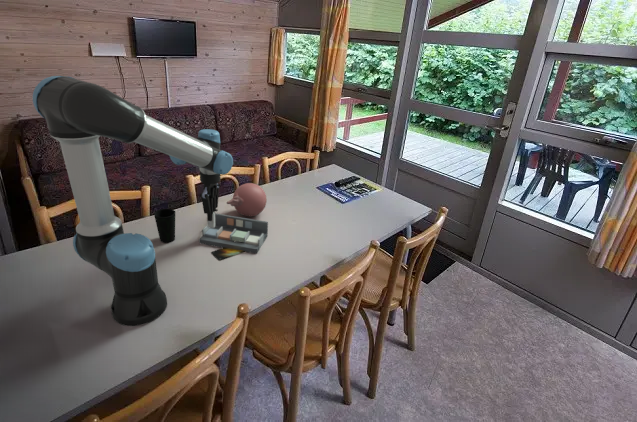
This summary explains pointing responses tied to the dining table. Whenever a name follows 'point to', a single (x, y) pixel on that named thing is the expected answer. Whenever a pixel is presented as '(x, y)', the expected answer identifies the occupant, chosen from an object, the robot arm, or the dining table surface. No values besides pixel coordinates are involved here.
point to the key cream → (252, 240)
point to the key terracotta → (225, 235)
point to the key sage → (239, 236)
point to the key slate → (211, 233)
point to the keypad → (232, 225)
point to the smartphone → (226, 253)
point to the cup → (165, 224)
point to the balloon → (249, 199)
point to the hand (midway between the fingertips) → (211, 226)
